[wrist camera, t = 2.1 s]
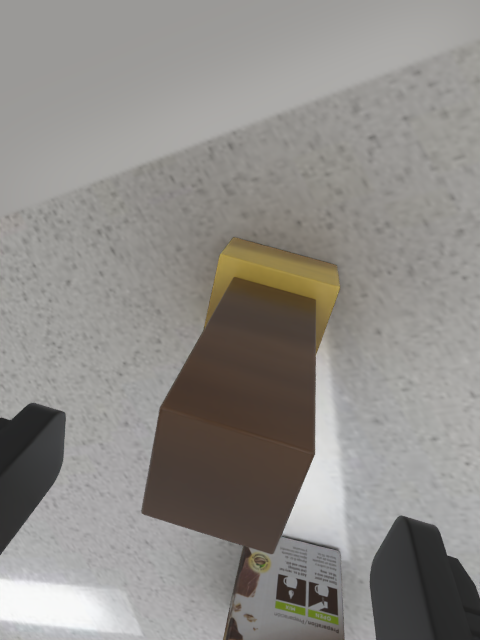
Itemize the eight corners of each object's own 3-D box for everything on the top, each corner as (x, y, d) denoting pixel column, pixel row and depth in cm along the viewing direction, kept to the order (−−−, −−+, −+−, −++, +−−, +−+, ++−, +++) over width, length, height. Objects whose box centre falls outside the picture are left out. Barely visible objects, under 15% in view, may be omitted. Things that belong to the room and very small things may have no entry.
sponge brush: (233, 236, 20) (130, 368, 9) (337, 265, 19) (362, 437, 9) (212, 328, 22) (109, 525, 11) (305, 355, 22) (294, 584, 11)
